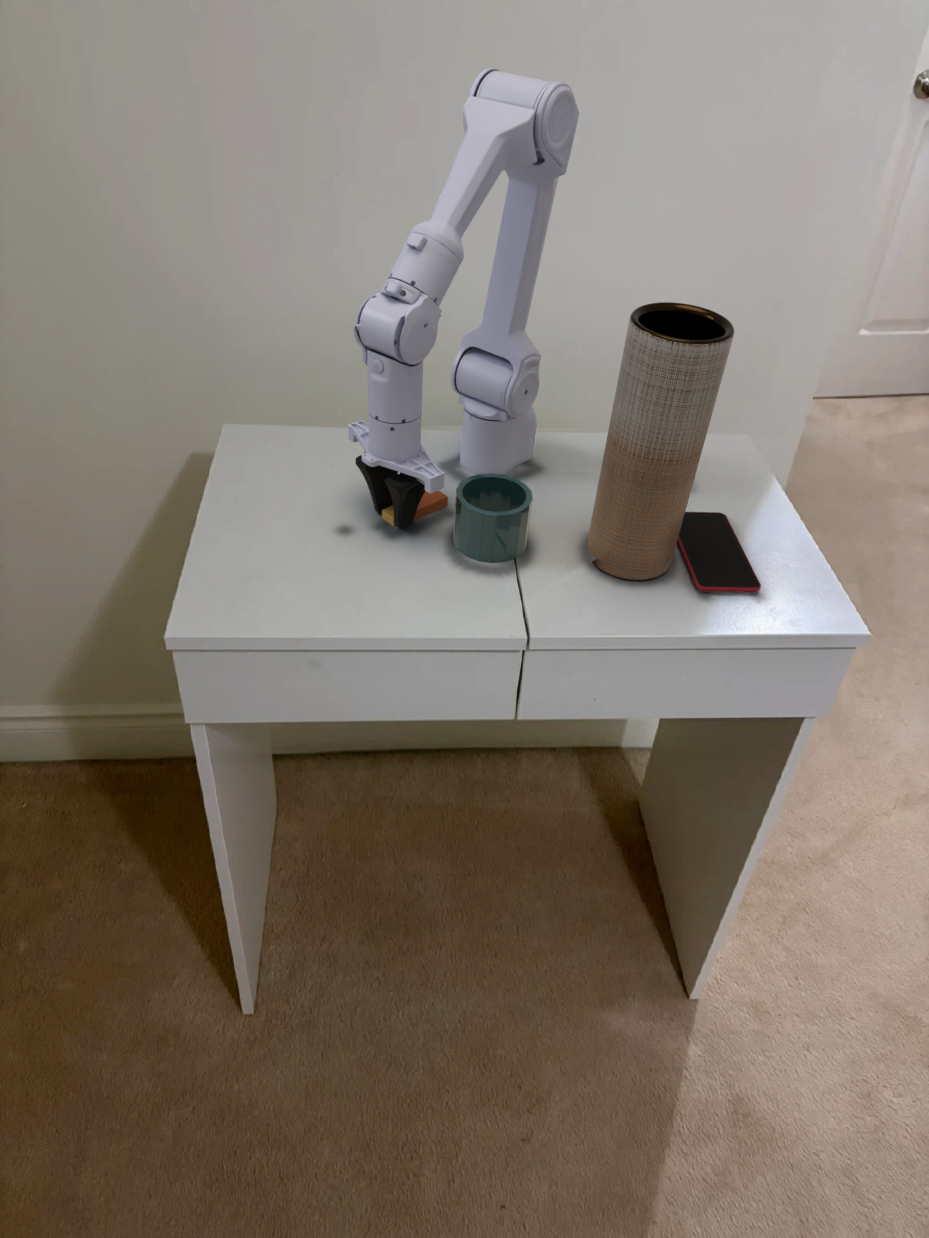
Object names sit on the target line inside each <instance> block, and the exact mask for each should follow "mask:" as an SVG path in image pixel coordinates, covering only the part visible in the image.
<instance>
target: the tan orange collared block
mask: <svg viewBox="0 0 929 1238" xmlns="http://www.w3.org/2000/svg"><path fill="white" fill-rule="evenodd" d="M448 505H449V496H448V495H446V494H445V493H443V492H442V491H440V490H438V491H436V492H433V493H431V494H430V493H428V492H427V491H425V493H424V495H423V496H422V498H421V501H420V503H419V505H418V508H417V511H416V514H415V517H414V520H413V522H414V521H417V520H418V519H421V518H423V517H426V516H427V515H430V514H432V513H434V512H437V511H438V510H440V509H443V508H445V507H447V506H448ZM381 519H382V520H384V521H385V522H387V523H388V524H389V525H391V526H392V527H396V525H395V521H394V511H393V506H390V507H388V508H386V509H383V510H382V513H381Z"/></svg>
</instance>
